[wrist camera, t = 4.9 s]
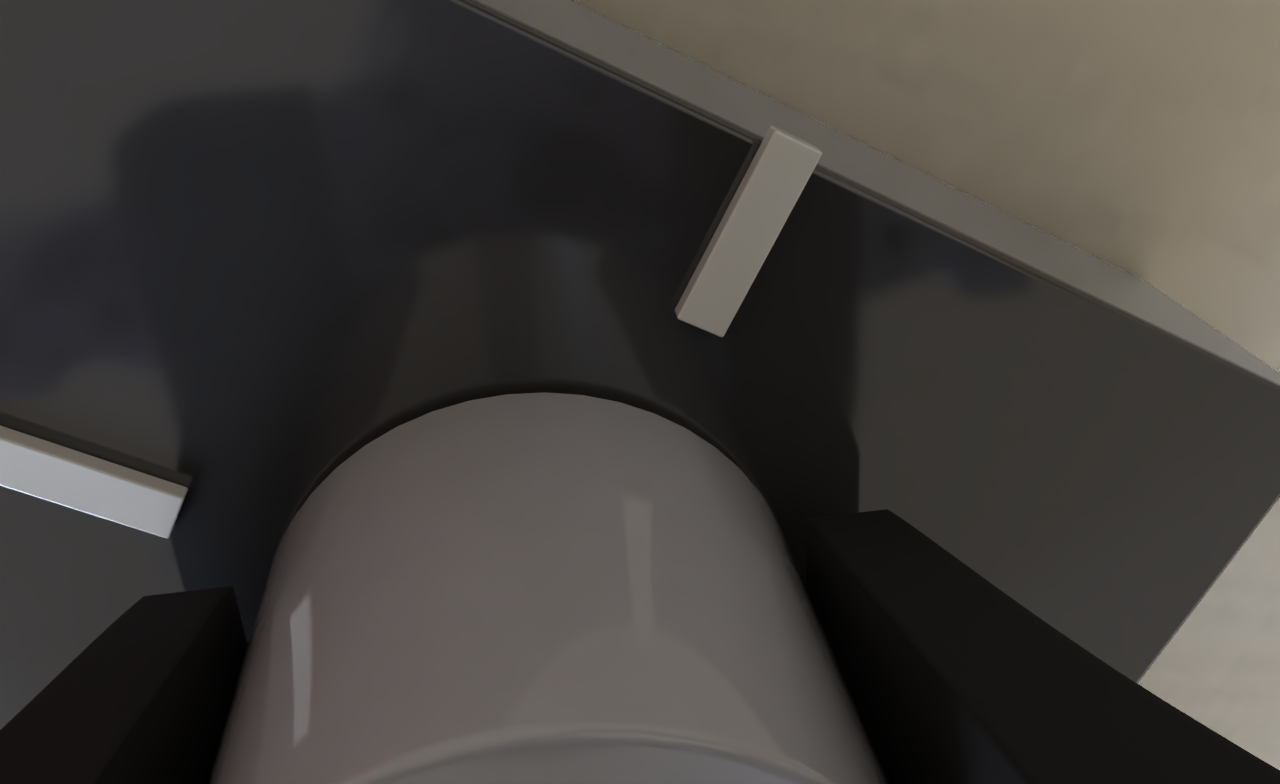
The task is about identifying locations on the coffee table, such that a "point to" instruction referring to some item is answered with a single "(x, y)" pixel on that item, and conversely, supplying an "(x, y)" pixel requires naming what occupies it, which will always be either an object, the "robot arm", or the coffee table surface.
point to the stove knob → (539, 616)
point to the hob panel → (552, 309)
